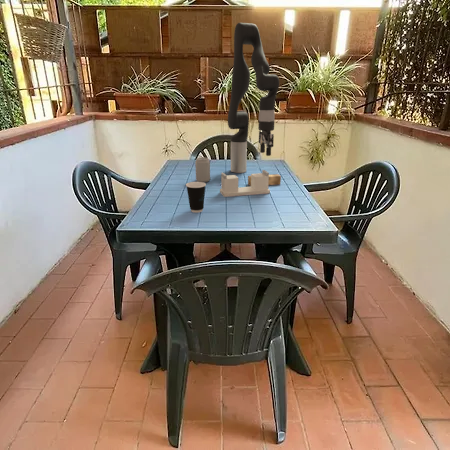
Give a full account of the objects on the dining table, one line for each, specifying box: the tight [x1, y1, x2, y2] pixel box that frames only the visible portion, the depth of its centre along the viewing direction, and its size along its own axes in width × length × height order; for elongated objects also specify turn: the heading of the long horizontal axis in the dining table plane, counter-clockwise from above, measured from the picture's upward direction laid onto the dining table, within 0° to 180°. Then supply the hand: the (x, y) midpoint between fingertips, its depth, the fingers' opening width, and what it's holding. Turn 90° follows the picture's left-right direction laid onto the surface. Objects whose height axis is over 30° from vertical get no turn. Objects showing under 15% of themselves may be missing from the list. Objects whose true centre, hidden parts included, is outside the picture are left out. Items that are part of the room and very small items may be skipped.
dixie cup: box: [185, 181, 207, 214], centre depth 139 cm, size 8×8×11 cm
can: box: [194, 157, 211, 183], centre depth 182 cm, size 8×8×12 cm
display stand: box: [219, 169, 271, 198], centre depth 162 cm, size 22×8×10 cm, turn 104°
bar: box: [247, 173, 282, 187], centre depth 177 cm, size 16×4×4 cm, turn 101°
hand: (265, 154), depth 172 cm, fingers open, 8 cm apart
